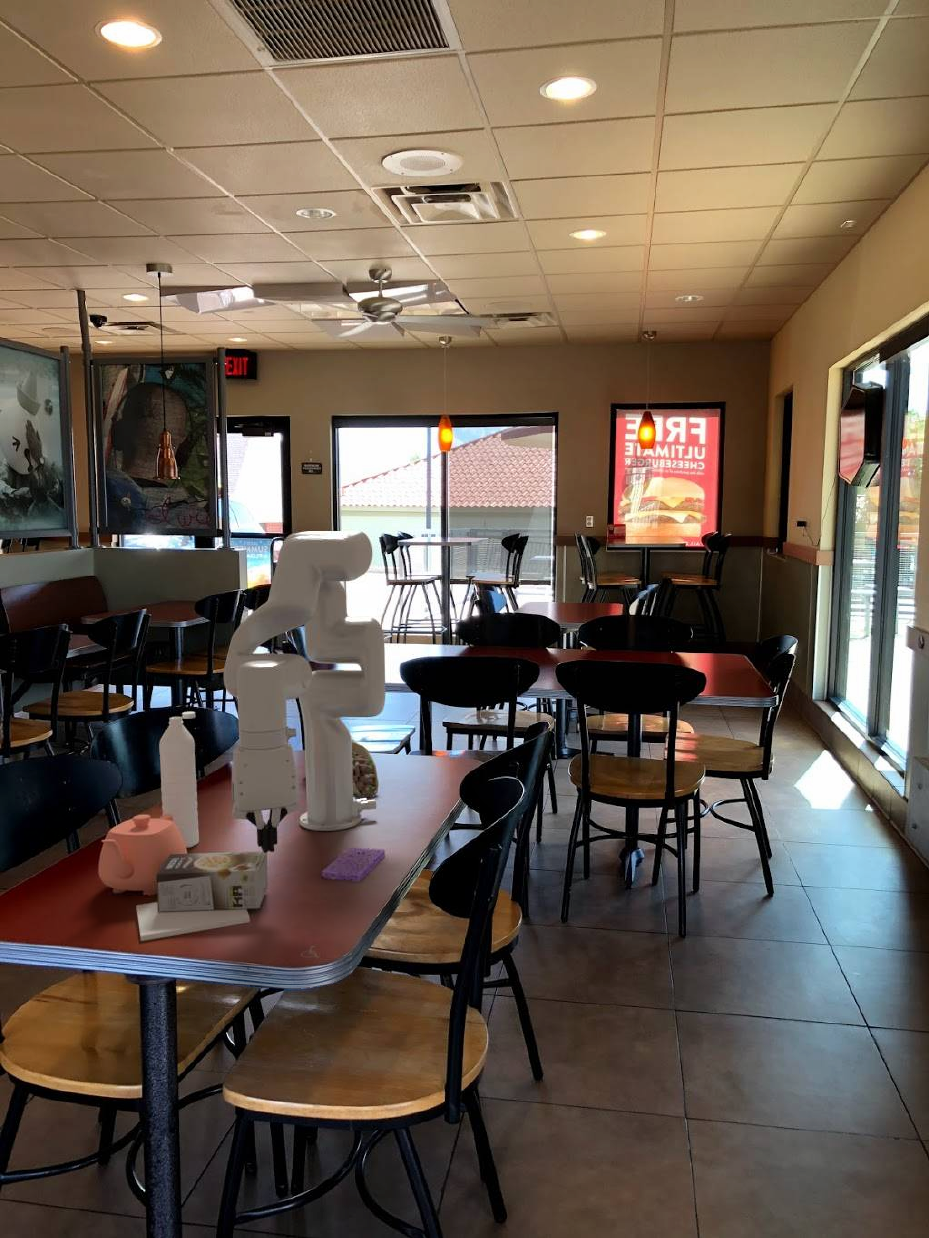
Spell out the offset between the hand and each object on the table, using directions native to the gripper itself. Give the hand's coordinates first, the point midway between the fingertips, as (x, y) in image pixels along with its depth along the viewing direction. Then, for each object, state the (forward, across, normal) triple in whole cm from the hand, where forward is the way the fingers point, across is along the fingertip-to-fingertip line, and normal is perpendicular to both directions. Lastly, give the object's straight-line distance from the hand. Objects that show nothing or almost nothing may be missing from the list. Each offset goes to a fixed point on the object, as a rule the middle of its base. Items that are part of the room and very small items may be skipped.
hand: (267, 849), depth 149 cm
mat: (+9, +12, 0) cm, 15 cm away
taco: (+10, -27, -62) cm, 68 cm away
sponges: (+10, -17, -10) cm, 22 cm away
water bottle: (+9, +10, -36) cm, 38 cm away
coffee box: (+5, 0, 0) cm, 5 cm away
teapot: (+9, +19, -16) cm, 26 cm away
